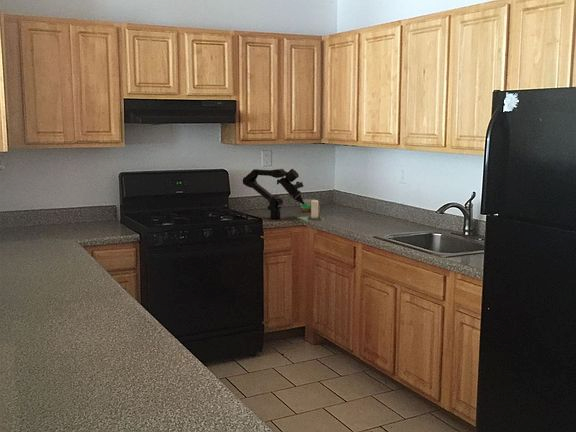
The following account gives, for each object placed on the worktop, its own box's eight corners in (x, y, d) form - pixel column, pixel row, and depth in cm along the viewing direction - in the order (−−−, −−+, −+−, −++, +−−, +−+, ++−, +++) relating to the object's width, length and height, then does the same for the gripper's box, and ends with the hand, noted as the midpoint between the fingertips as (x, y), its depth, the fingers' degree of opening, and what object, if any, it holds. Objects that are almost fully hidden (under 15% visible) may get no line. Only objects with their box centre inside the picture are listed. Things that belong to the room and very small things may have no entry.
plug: (311, 219, 429) (311, 201, 427) (311, 218, 433) (311, 200, 431) (319, 219, 428) (319, 201, 426) (319, 218, 433) (319, 200, 431)
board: (306, 222, 423) (306, 219, 422) (296, 218, 438) (296, 215, 437) (326, 221, 428) (326, 218, 427) (315, 217, 443) (315, 214, 443)
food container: (296, 213, 461) (296, 198, 459) (299, 211, 467) (299, 197, 465) (313, 213, 457) (314, 199, 456) (316, 212, 463) (316, 198, 462)
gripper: (298, 177, 420) (314, 196, 422) (295, 176, 438) (310, 194, 440) (285, 189, 420) (301, 207, 422) (282, 187, 438) (297, 205, 440)
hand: (303, 203), depth 431 cm, fingers open, 9 cm apart
